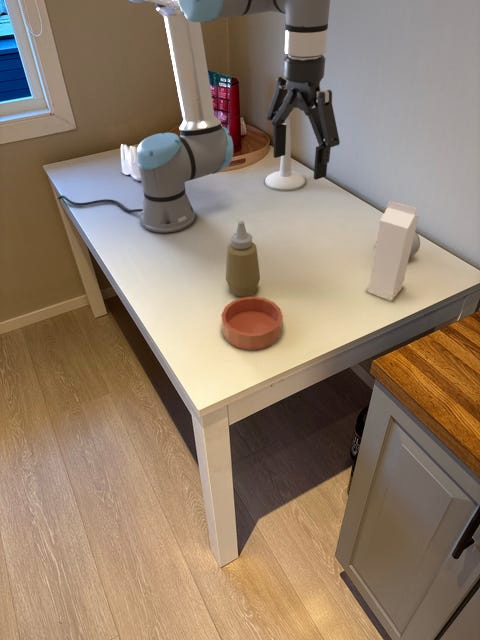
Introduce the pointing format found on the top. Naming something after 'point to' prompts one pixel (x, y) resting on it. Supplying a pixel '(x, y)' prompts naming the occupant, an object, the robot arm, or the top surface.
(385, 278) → the milk
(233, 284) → the squeeze bottle
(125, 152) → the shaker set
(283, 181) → the candlestick
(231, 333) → the holder
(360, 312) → the top surface
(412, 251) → the ceramic mug
